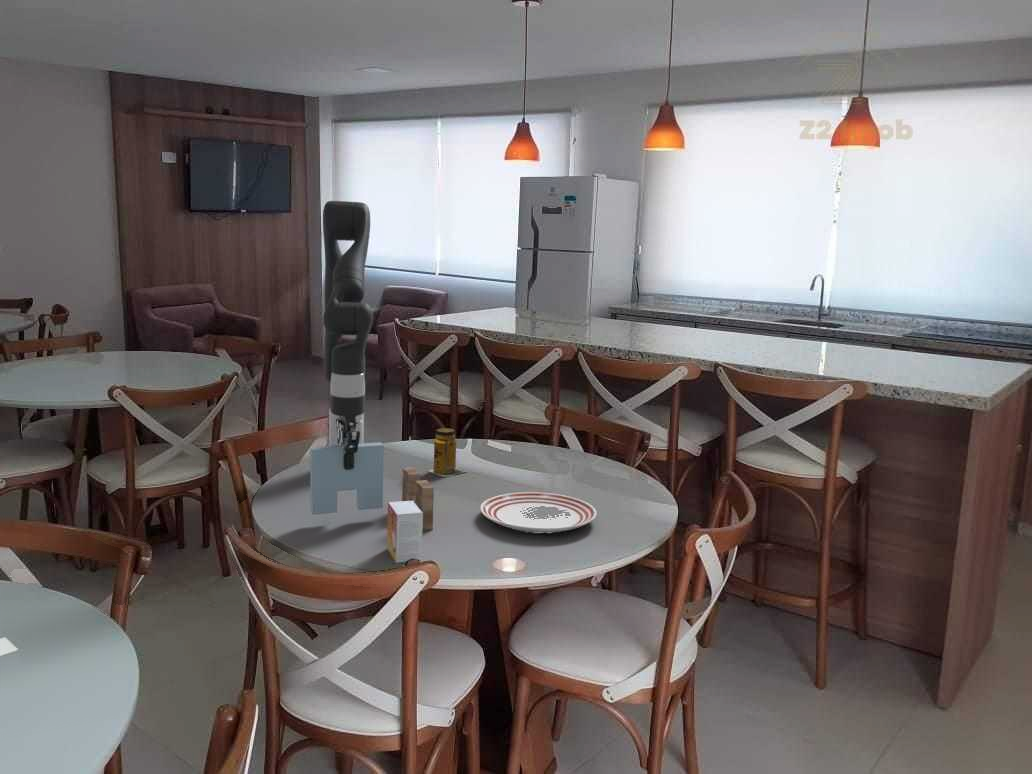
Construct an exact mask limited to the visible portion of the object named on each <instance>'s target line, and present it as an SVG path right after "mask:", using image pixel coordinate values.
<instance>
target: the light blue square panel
mask: <svg viewBox="0 0 1032 774" xmlns="http://www.w3.org/2000/svg"><path fill="white" fill-rule="evenodd" d="M351 447H352V446H349V448H351ZM309 449H310V450H309V451H310V452H309V454H310V455H309V456H310V458H309V461H310V462H309V465H310V469H309V470H310V474H309V475H310V476H309V481H310V485H309V486H310V487H309V489H310V493H309V494H310V495H309V496H310V502H309V503H310V504H309V505H310V507H309V508H310V513H311V515H312V516H314V515H323V514H334V513H335V514H336V513H338V492H343V491H353V490H354V491H356V505H355V506H356V508H357V509H358V511H364V510H365V511H366V510H374V509H375V510H376V509H383V506H384V452H385V448H384V443H382V441H379V442H378V441H377V442H376V441H375V442H364V443H361V444H358V451H357V453H354V469H351V470H345V469H344V452H343V445H332V446H329V445H319V446H317V445H316V446H310V448H309Z"/></svg>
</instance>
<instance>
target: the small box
mask: <svg viewBox="0 0 1032 774" xmlns="http://www.w3.org/2000/svg"><path fill="white" fill-rule="evenodd" d="M386 527H387V528H386V532H387V533H386V535H387V536H386V549H387V551H388V552H389V554H390V555H391V557H392V559H393V560H394V562H395V563H396V564H398V563H399V564H400V563H405V562H406V561H407V560H408V559H411V558H416V559H418V560H419V561H422V555H423V554H422V552H423V549H422V547H423V531H422V527H423V513H422V511H421V510H420V509H419V508H418V507H417V505H416V504H415V503H414V501H402V500H399V501H389V502H387V526H386ZM406 563H407V562H406Z"/></svg>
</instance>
